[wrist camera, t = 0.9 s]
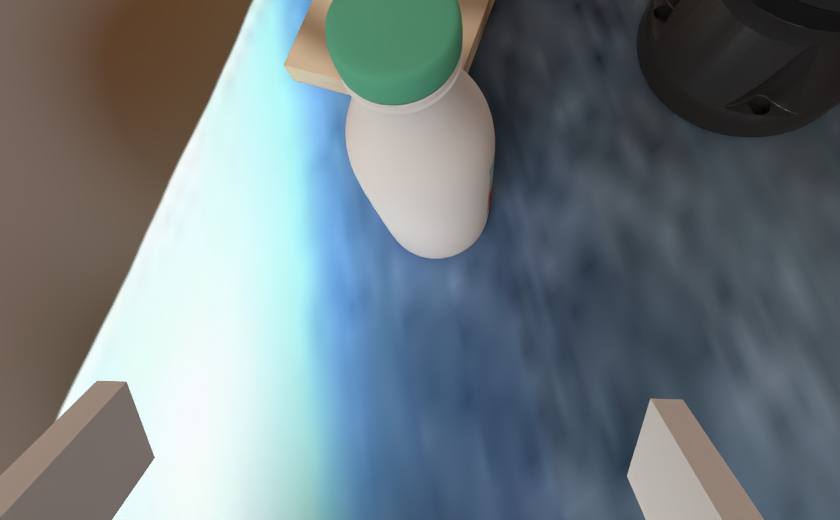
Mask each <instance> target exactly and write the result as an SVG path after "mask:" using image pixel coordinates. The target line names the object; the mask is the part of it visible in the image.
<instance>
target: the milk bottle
mask: <svg viewBox="0 0 840 520" xmlns="http://www.w3.org/2000/svg"><path fill="white" fill-rule="evenodd" d="M325 37H326V44H327V48H328V51H329V54H330V56H331V59H332V61H333V64H334V66H335V68H336V70H337V71H338V73H339V75H340V77H341V79H342V82H343V84H344V86H345V88H346V90H347V91H348V93H349V94H350V95H351V97H352V99H351V102H350V105H349V109H348V114H347V119H346V145H347V152H348V156H349V160H350V163H351V166H352V169H353V171H354V174H355V176H356V177H357V179H358V181H359V183H360V185H361V187H362V189H363V191H364V192H365V194H366V196H367V197H368V199H369V200H370V202H371V203H372V205H373V207H374V208H375V210H376V211H377V213H378V214H379V216H380V217H381V219H382V220H383V222H384V223H385V225H386V226H387V228H388V229H389V231H390V232H391V234H392V235H393V236H394V238H395V239H396V240H397V241H398V242H399V244H401V245H402V246H403V247H404V248H405V249H406V250H408V251H410V252H411V253H413V254H416V255H418V256H421V257H425V258H432V259H440V258H447V257H451V256H454V255H457V254H459V253H461V252H463V251H464V250H466V249H467V248H469V247H470V246H471V245H472V244H473V243H474V242H475V241H476V240H477V239H478V238H479V236H480V235H481V233H482V231H483V229H484V227H485V225H486V222H487V218H488V213H489V207H490V199H491V190H492V181H493V170H494V159H495V133H494V126H493V120H492V116H491V112H490V110H489V107H488V104H487V102H486V99H485V97H484V95H483V94H482V92H481V90H480V89H479V87H478V86H477V84H476V83H475V82H474V80H473V79H472V78H471V77H470V76H469V75H468V74H467V73H466V72H465V71H464V70H463V69H462V68H461V67H462V63H463V46H462V43H463V26H462V16H461V10H460V6H459V3H458V0H333V1H332V3H331V5H330V7H329V9H328V12H327V16H326V21H325Z"/></svg>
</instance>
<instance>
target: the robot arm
mask: <svg viewBox="0 0 840 520" xmlns="http://www.w3.org/2000/svg"><path fill="white" fill-rule="evenodd" d="M637 53H638V59H639V63H640V66H641V69H642V72H643V74H644V77H645V79H646V80H647V82H648V84H649V86H650V87H651V89H652V90H653V91H654V93H655V94H656V95H657V97H658V98H659V99H660V100H661V101H662V102H663V103H664V104H665V105H666V106H667V107H668V108H670V109H671V110H672V111H673V112H675V113H676V114H678V115H679V116H680V117H682V118H684V119H685V120H687V121H689V122H691V123H693V124H695V125H697V126H699V127H702V128H704V129H707V130H710V131H713V132H716V133H721V134H725V135H731V136H739V137H764V136H772V135H778V134H782V133H786V132H789V131H793V130H795V129H798V128H800V127H803V126H805V125H807V124H809V123H811V122H812V121H814V120H816V119H817V118H819V117H820V116H822V115H823V114H825V113H826V112H827V111H829V110H830V109H832V108H833V107H835V106H836V105H838V104H839V103H840V0H651V1H650V2H649V4H648V6H647V8H646V10H645V12H644V14H643V17H642V19H641V22H640V26H639V30H638V36H637ZM154 458H155V457H154V455H153V452H152V449H151V447H150V444H149V441H148V439H147V436H146V433H145V431H144V428H143V425H142V422H141V420H140V417H139V414H138V412H137V409H136V406H135V404H134V401H133V398H132V396H131V393H130V390H129V387H128V385H127V382H117V381H97V382H96V383H94V384H93V385H92V386H91V387H90V388H89V389H88V390H87V391H86V392H85V393H84V394H83V395H82V396H81V397H80V398H79V399H78V400H77V401H76V402H75V403H74V404H73V405H72V406H71V407H70V408H69V409H68V410H67V411H66V412H65V413H64V414H63V415H62V416H61V417H60V418H59V419H58V420H57V421H56V422H55V423H54V424H53V425H52V426H51V427H50V428H49V429H48V430H47V431H46V432H45V433H44V434H43V435H42V436H41V437H39V438H38V440H36V442H34V443H33V444H32V445H31V446H30V447H29V449H27V450H26V451H25V452H24V453H23V454H22V455H21V456H20V457H19V458H18V459H17V460H16V461H15V462H14V463H13V464H12V465H11V466H10V467H9V468H8V469H7V470H6V471H5V472H4V473H3V474H2V475H1V476H0V520H112V519H113V517H114V516H115V514H116V513H117V511H118V510H119V508H120V507H121V506H122V504H123V503H124V501H125V500H126V498H127V497H128V495H129V494H130V493H131V491H132V490H133V488H134V487H135V485H136V484H137V482H138V481H139V480H140V478H141V477H142V475H143V474H144V472H145V471H146V469H147V468H148V467H149V465H150V464H151V462H152V461H153V459H154ZM627 477H628V479H629V482H630V484H631V486H632V489H633V491H634V493H635V496H636V498H637V500H638V503H639V505H640V507H641V509H642V512H643V514H644V516H645V519H646V520H764V519H763V517H762V516H761V514H760V513H759V511H758V510H757V509H756V507H755V506H754V504H753V503H752V501H751V500H750V498H749V497H748V495H747V494H746V492H745V491H744V489H743V488H742V486H741V485H740V483H739V482H738V481H737V479H736V478H735V476H734V475H733V473H732V472H731V470H730V469H729V467H728V466H727V464H726V463H725V461H724V460H723V458H722V457H721V455H720V454H719V453H718V451H717V450H716V448H715V447H714V445H713V444H712V442H711V441H710V439H709V438H708V436H707V435H706V433H705V432H704V430H703V429H702V427H701V426H700V425H699V423H698V422H697V420H696V419H695V417H694V416H693V414H692V413H691V411H690V410H689V408H688V407H687V405H686V404H685V402H684V401H683V400H679V399H650V402H649V405H648V409H647V412H646V415H645V419H644V422H643V425H642V428H641V432H640V435H639V438H638V441H637V445H636V448H635V451H634V455H633V458H632V461H631V464H630V468H629V471H628V474H627Z"/></svg>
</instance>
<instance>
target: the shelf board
mask: <svg viewBox="0 0 840 520" xmlns="http://www.w3.org/2000/svg"><path fill="white" fill-rule="evenodd" d="M332 1H333V0H313V1H312V3H311V5H310V7H309V10H308V12H307V14H306V16H305V19H304V21H303V23H302V25H301V28H300V30H299V32H298V34H297V37H296V39H295V41H294V43H293V46H292V48H291V50H290V52H289V55H288V57H287V59H286V61H285V64H284V66H285V68H286V69H287V71H288V73H289V74H290V76H291V77H292V79H293V80H295V81H298V82H302V83H306V84H310V85H313V86H317V87H321V88H325V89H328V90H332V91H336V92H340V93H343V94H347V95H350V94H349V93H348V91H347V90H346V88H345V86H344V84H343V82H342V79H341V77H340V75H339V73H338V71H337V70H336V68H335V66H334V64H333V61H332V59H331V56H330V54H329V51H328V48H327V44H326V37H325V21H326V16H327V12H328V9H329V7H330V5H331V3H332ZM494 1H495V0H458V3H459V6H460V10H461V16H462V26H463V43H462V46H463V63H462V67H461V68H462V69H463V70H464V71H465V72H466V73H467V74H468V72H469V69H470V67H471V64H472V61H473V58H474V56H475V53H476V50H477V48H478V45H479V42H480V39H481V37H482V34H483V31H484V29H485V26H486V23H487V20H488V18H489V15H490V12H491V10H492V7H493V4H494Z"/></svg>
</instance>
